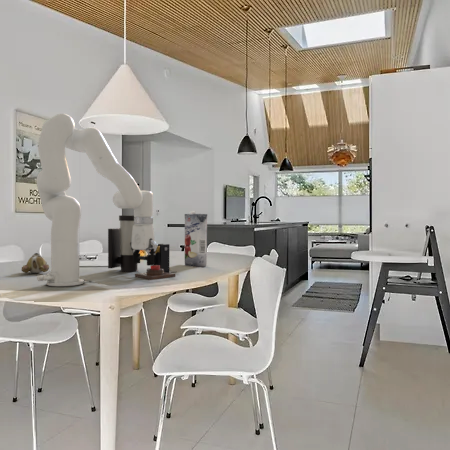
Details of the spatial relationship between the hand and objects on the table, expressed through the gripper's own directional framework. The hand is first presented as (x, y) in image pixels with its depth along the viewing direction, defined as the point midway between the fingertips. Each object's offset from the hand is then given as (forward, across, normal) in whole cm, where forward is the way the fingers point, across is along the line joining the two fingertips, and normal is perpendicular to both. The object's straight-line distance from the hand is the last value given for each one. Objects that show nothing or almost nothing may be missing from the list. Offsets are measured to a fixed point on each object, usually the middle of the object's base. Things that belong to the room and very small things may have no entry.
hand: (143, 264), depth 175 cm
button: (+2, +9, -1) cm, 9 cm away
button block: (+5, +9, -1) cm, 10 cm away
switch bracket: (+5, 0, +9) cm, 10 cm away
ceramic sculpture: (+5, -41, -26) cm, 49 cm away
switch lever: (-3, 0, +5) cm, 6 cm away
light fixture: (+5, -14, +1) cm, 15 cm away
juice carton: (+5, -13, +40) cm, 42 cm away
